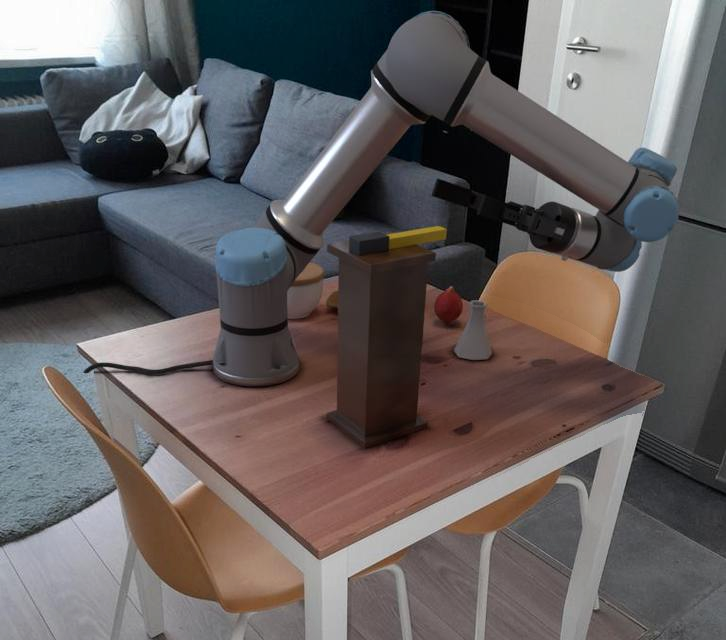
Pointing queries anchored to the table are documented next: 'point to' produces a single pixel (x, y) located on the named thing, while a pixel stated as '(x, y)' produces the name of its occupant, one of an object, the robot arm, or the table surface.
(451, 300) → the pomegranate
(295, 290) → the lidded bowl
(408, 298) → the pedestal stand
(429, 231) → the highlighter
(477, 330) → the flask
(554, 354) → the table surface
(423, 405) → the table surface
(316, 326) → the table surface
